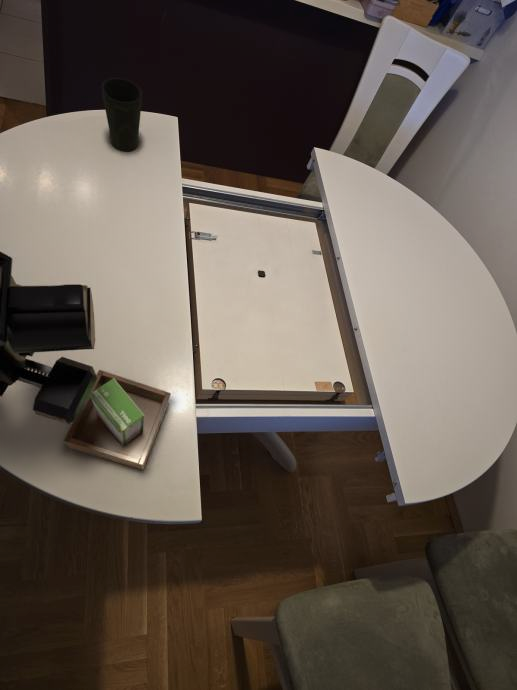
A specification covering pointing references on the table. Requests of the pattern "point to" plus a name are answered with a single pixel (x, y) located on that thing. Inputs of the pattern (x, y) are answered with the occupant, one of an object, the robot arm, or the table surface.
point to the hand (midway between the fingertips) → (19, 392)
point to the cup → (122, 112)
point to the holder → (99, 439)
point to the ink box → (118, 411)
